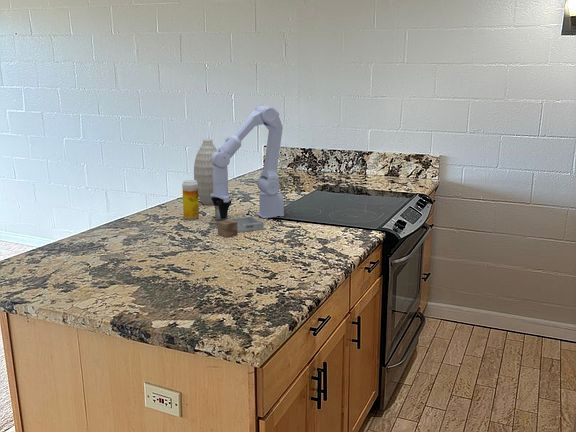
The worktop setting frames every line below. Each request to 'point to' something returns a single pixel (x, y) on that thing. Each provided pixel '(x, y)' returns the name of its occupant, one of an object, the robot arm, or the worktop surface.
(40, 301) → the worktop surface
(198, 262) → the worktop surface
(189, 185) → the beer can
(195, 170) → the vase
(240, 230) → the frame
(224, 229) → the walnut block
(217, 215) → the grooved metal cylinder
